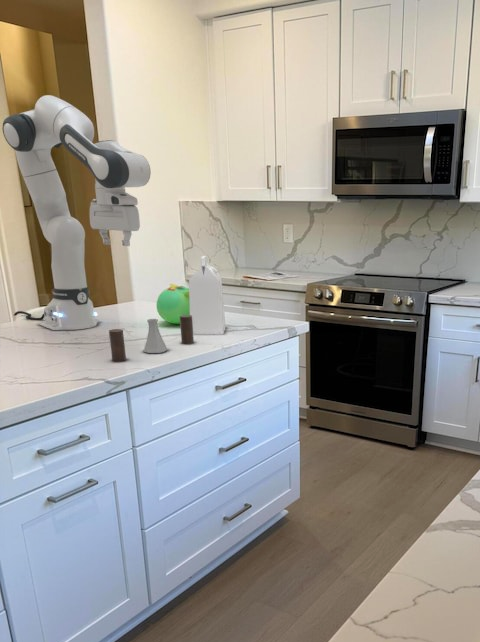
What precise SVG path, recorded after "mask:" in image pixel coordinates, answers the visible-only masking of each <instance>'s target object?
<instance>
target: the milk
mask: <svg viewBox="0 0 480 642" xmlns="http://www.w3.org/2000/svg"><path fill="white" fill-rule="evenodd" d="M200 264H201V265H200V267H199V268H198V269H197V270H196V272H195V273H194V274H193V275H192V276H191V277H190V278H189V279H188V288H189V303H190V315H191V316H192V322H193V335H224V333H225V330H226V317H225V316H226V315H225V303H224V293H223V280H222V279H223V278H222V276H221V275H220V274H219V273H218V272H219V271H218V270H217V269H216V268H215V266H212V265H210V264H209V263H208V256H207V255H202V256H200Z"/></svg>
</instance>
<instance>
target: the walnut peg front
mask: <svg viewBox="0 0 480 642" xmlns="http://www.w3.org/2000/svg"><path fill="white" fill-rule="evenodd" d="M108 337H109V346H110V353H111V361H112V362H114V363H115V362H116V363H121V362H126V361H127V354H126V344H125V335H124V330H123V329H121V328H114V329H113V328H112V329H109V330H108Z"/></svg>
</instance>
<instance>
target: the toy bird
mask: <svg viewBox="0 0 480 642" xmlns="http://www.w3.org/2000/svg"><path fill="white" fill-rule="evenodd" d="M169 286H170V287H167V288H165V289H164V290H163V291H162V292H160V294H159V295H158V297H157V300H156V311H157V314H158V315H159V317H160V318H161V319H162V320H164V321H166V322H167V323H170V324H172V325H173V324H174V325H180V316H181V315H190V303H189V287H186V286H183V285H180V286H179V285H177V284H174V283H169Z"/></svg>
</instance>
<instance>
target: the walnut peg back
mask: <svg viewBox="0 0 480 642" xmlns="http://www.w3.org/2000/svg"><path fill="white" fill-rule="evenodd" d="M179 326H180V337H181V344H183V345H192V344H194V343H195V339H194V334H193V322H192V316H191V315H181V316H180V324H179Z"/></svg>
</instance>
